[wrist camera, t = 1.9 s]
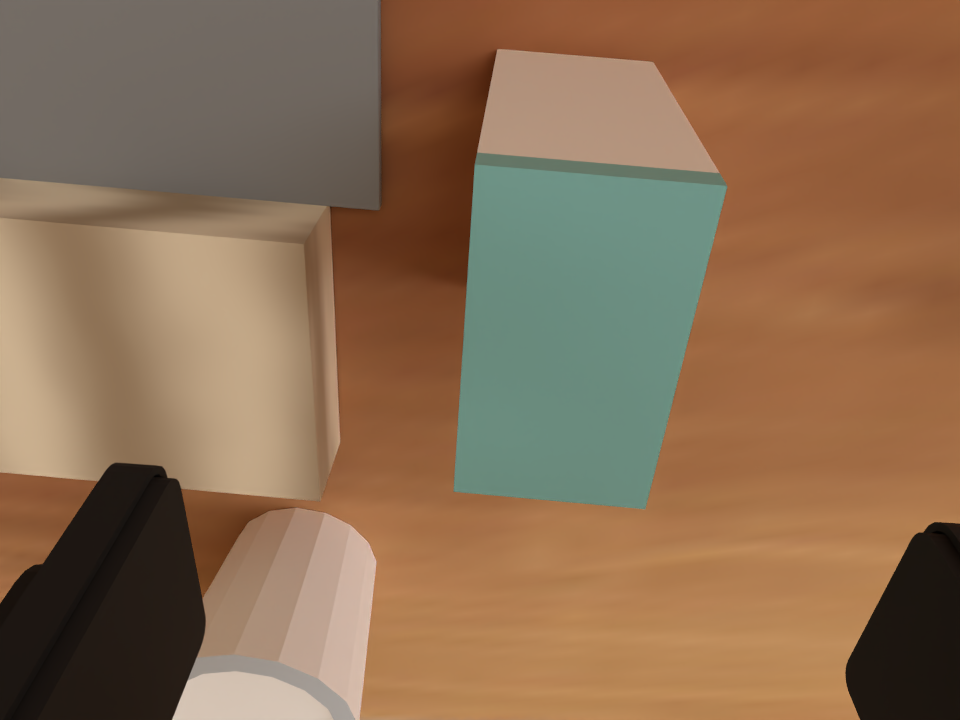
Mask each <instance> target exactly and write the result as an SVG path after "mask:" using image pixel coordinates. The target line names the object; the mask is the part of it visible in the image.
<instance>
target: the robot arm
mask: <svg viewBox="0 0 960 720" xmlns="http://www.w3.org/2000/svg"><path fill="white" fill-rule="evenodd" d="M205 627H206V616H205V610H204V605H203V600H202V595H201V590H200V584H199V579H198V574H197V569H196V564H195V559H194V553H193V548H192V543H191V538H190V533H189V528H188V522H187V517H186V512H185V507H184V502H183V497H182V491H181V486H180V483H179V481H178V480H177V479H175V478H168V477H167V474H166V471H165V469H164V468H163V467H162V466H157V465H144V464H130V463H116V462H115V463H113V464H111V465H110V466H109V467H108V468H107V469H106V471H105V472H104V474H103V475H102V477H101V478H100V480H99V481H98V483H97V484H96V486H95V487H94V488H93V490H92V491H91V493H90V494H89V496H88V497H87V499H86V500H85V502H84V503H83V505H82V506H81V508H80V509H79V511H78V512H77V514H76V515H75V517H74V518H73V520H72V521H71V523H70V524H69V526H68V527H67V529H66V530H65V532H64V533H63V535H62V536H61V538H60V539H59V541H58V542H57V544H56V545H55V547H54V548H53V550H52V551H51V553H50V554H49V556H48V557H47V559H46V560H45V562H44V563H43V564H39V565H34V566H32V567H30V568H29V569H27V570H26V571H24V573H23V574H22V575H21V576H20V577H19V578H18V580H17V581H16V582H15V583H14V585H13V586H12V588H11V589H10V590H9V592H8V593H7V595H6V596H5V598H4V599H3V601H2V602H1V603H0V720H172V719H173V716H174V714H175V711H176V709H177V706H178V704H179V701H180V699H181V696H182V693H183V691H184V688H185V686H186V683H187V681H188V678H189V676H190V673H191V671H192V668H193V666H194V663H195V661H196V658H197V656H198V653H199V651H200V648H201V645H202V642H203V638H204V634H205ZM846 683H847V688H848V691H849V694H850V696H851V698H852V701H853V703H854V706H855V708H856V711H857V713H858V715H859V718H860V720H960V524H956V523H942V522H934V523H932V524H931V525H929V526H928V527H927V528H926V530H925V531H924V533H918V534H916V535H915V536H914V537H913V538H912V540H911V542H910V543H909V545H908V547H907V549H906V551H905V553H904V555H903V557H902V559H901V561H900V563H899V564H898V566H897V568H896V570H895V572H894V574H893V576H892V578H891V580H890V582H889V583H888V585H887V587H886V589H885V591H884V593H883V595H882V597H881V599H880V601H879V603H878V604H877V606H876V608H875V610H874V612H873V614H872V616H871V618H870V620H869V622H868V624H867V625H866V627H865V629H864V631H863V633H862V635H861V637H860V639H859V641H858V643H857V645H856V646H855V648H854V650H853V652H852V654H851V656H850V658H849V660H848V662H847V665H846Z"/></svg>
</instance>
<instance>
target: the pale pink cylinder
mask: <svg viewBox="0 0 960 720" xmlns="http://www.w3.org/2000/svg"><path fill="white" fill-rule="evenodd" d="M375 571H376V560H375V557H374V555H373V552H372V550H371V547H370V545H369V542H368V541H367V540H366V539H364V538H363V537H362V536H361V535H360V534H359V533H358V532H357V531H356V530H355V529H354V528H353V527H352V526H351V525H349V524H347V523H345V522H343V521H341V520H339V519H337V518H335V517H333V516H331V515H329V514H327V513H324V512H318V511H313V510H307V509H301V508H289V509H281V510H272V511H268V512H266V513H264V514H262V515H261V516H259V517H257V518H255V519H253V520H251V521H249V522H248V523H247V525H246V526H245V528H244V529H243V531H242V532H241V534H240V535H239V537H238V538H237V540H236V542H235V543H234V545H233V547H232V549H231V550H230V552H229V554H228V555H227V557H226V559H225V561H224V562H223V564H222V566H221V568H220V569H219V571H218V573H217V574H216V576H215V578H214V580H213V581H212V583H211V585H210V587H209V588H208V590H207V592H206V593H205V595H204V597H203V599H202V600H203V605H204V610H205V616H206V627H205V634H204V638H203V642H202V645H201V648H200V651H199V653H198V656H197V658H196V661H195V663H194V666H193V668H192V671H191V673H190V676H189V678H188V681H187V683H186V686H185V688H184V691H183V693H182V696H181V699H180V701H179V704H178V706H177V709H176V711H175V714H174V716H173V719H172V720H359V719H360V709H361V700H362V691H363V682H364V672H365V663H366V654H367V645H368V636H369V626H370V617H371V608H372V599H373V590H374V580H375Z"/></svg>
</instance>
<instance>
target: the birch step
mask: <svg viewBox="0 0 960 720" xmlns="http://www.w3.org/2000/svg"><path fill="white" fill-rule="evenodd" d="M339 444H340V425H339V402H338V378H337V355H336V332H335V308H334V285H333V262H332V239H331V215H330V206H321V205H309V204H298V203H286V202H274V201H263V200H251V199H240V198H228V197H216V196H205V195H193V194H182V193H170V192H158V191H147V190H135V189H124V188H112V187H101V186H89V185H77V184H66V183H54V182H43V181H31V180H19V179H8V178H0V472H3V473H14V474H25V475H36V476H47V477H58V478H69V479H80V480H91V481H99V480H100V478H101V477H102V475H103V474H104V472H105V471H106V469H107V468H108V467H109V466H110V465H111V464H113V463H115V462H116V463H130V464H144V465H157V466H162V467H163V468H164V469H165V471H166V474H167V477H168V478H175V479H177V480H178V481H179V483H180V486H181V489H189V490H200V491H211V492H222V493H233V494H244V495H255V496H266V497H277V498H288V499H299V500H310V501H321V498H322V495H323V492H324V489H325V486H326V483H327V480H328V477H329V474H330V471H331V468H332V465H333V462H334V459H335V456H336V453H337V450H338V447H339Z"/></svg>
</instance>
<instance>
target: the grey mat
mask: <svg viewBox="0 0 960 720" xmlns="http://www.w3.org/2000/svg"><path fill="white" fill-rule="evenodd" d="M0 178H8V179H19V180H31V181H43V182H54V183H66V184H77V185H89V186H101V187H112V188H124V189H135V190H147V191H158V192H170V193H182V194H193V195H205V196H216V197H228V198H240V199H251V200H263V201H274V202H286V203H298V204H309V205H321V206H332V207H344V208H356V209H367V210H380V207H381V0H0Z"/></svg>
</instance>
